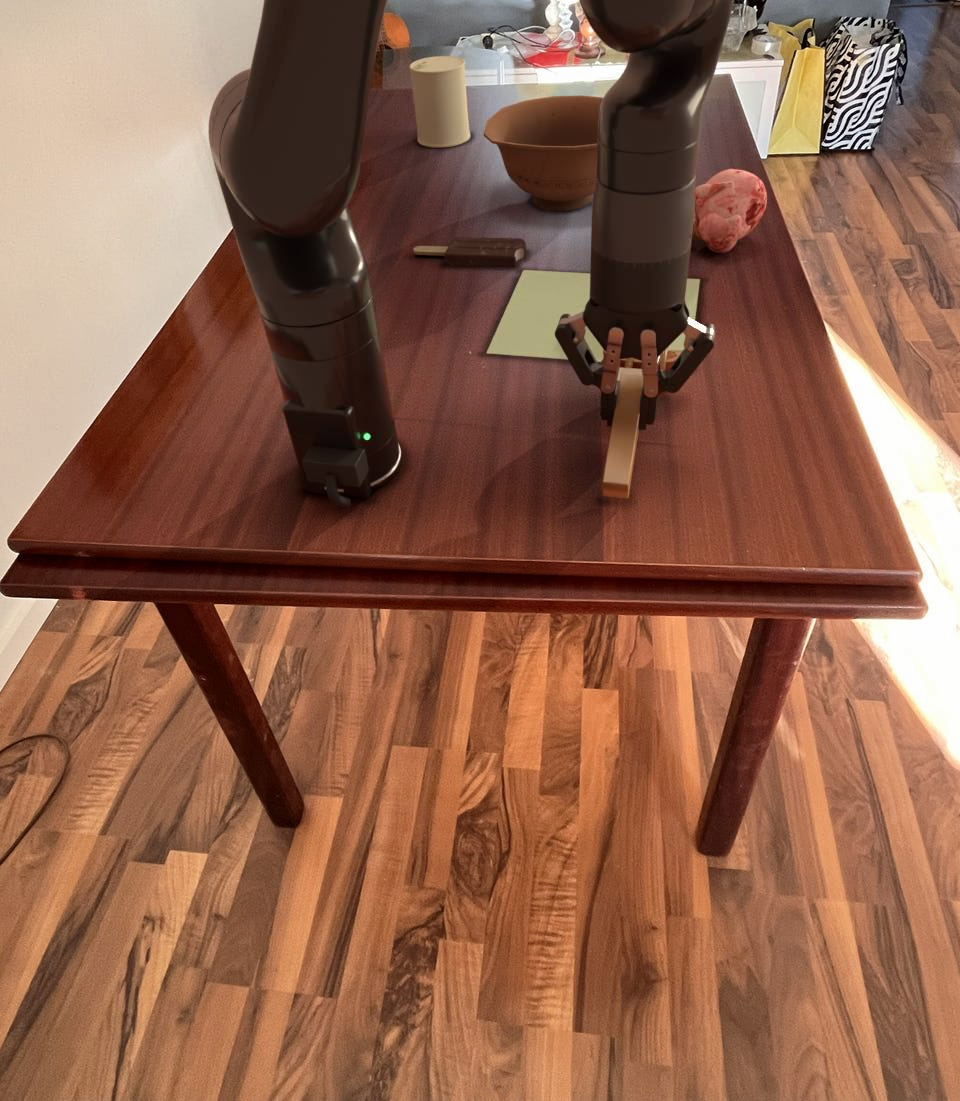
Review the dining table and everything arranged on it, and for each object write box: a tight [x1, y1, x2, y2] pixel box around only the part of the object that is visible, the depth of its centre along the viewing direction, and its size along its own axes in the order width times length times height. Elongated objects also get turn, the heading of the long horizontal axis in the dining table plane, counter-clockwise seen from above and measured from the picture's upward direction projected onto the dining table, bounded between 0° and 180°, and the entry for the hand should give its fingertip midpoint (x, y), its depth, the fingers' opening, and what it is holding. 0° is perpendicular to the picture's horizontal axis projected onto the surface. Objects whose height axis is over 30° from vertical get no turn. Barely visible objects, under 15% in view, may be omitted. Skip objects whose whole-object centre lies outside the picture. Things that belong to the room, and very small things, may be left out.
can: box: [409, 55, 471, 149], centre depth 136 cm, size 9×9×12 cm
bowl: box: [483, 95, 604, 212], centre depth 115 cm, size 22×22×11 cm
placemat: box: [486, 269, 701, 363], centre depth 94 cm, size 20×22×1 cm
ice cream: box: [692, 168, 768, 254], centre depth 103 cm, size 11×10×15 cm
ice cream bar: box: [413, 236, 527, 268], centre depth 107 cm, size 5×2×15 cm
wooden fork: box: [602, 348, 668, 499], centre depth 73 cm, size 17×5×3 cm, turn 165°
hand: (627, 422), depth 73 cm, fingers closed on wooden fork, 2 cm apart
